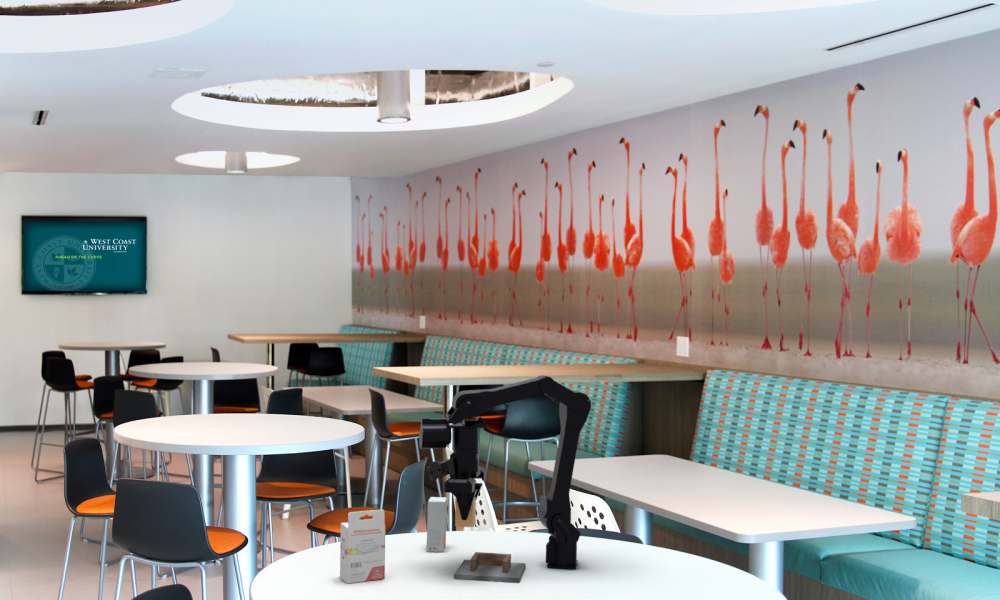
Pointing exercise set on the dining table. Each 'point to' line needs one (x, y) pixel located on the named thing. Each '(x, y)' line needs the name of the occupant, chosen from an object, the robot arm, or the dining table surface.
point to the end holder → (490, 568)
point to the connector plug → (471, 517)
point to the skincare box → (436, 524)
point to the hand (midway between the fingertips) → (465, 518)
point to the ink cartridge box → (363, 547)
